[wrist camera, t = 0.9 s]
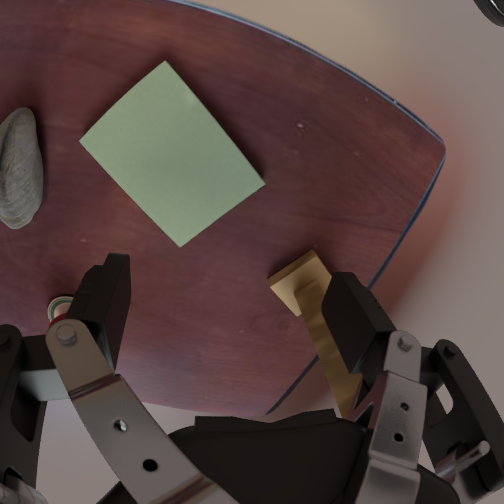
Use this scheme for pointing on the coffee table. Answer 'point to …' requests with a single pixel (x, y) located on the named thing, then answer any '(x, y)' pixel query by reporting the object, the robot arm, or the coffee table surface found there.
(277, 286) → the stand
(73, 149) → the coffee table surface
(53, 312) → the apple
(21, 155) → the seashell
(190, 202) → the pale green rectangular panel
